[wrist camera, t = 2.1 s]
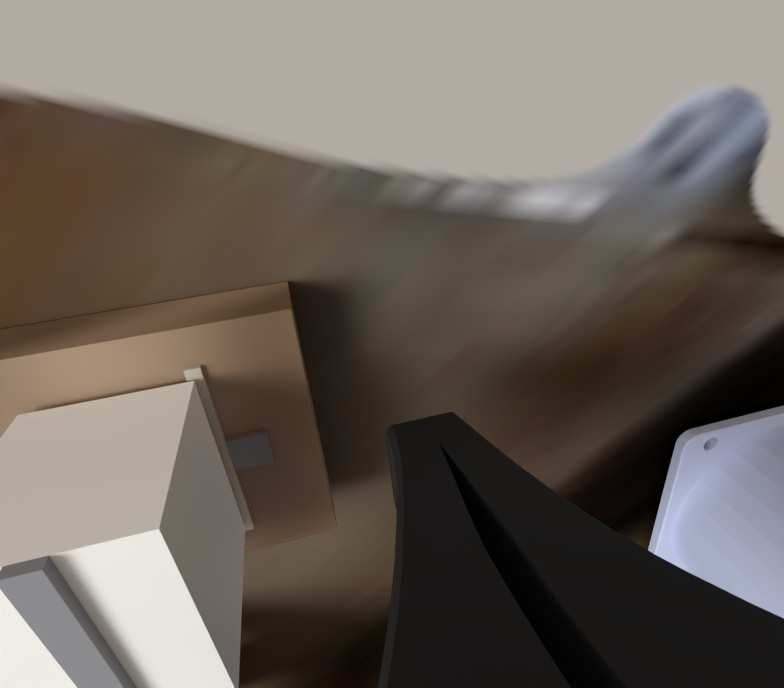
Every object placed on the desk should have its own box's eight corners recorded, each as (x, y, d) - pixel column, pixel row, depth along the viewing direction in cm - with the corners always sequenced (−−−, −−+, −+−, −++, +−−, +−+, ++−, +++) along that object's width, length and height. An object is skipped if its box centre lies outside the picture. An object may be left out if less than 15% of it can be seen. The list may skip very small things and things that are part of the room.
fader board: (287, 281, 10) (291, 311, 9) (330, 485, 13) (338, 532, 12) (-485, 410, 8) (-639, 476, 7) (-229, 619, 11) (-301, 696, 10)
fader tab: (194, 380, 9) (156, 542, 6) (245, 527, 11) (237, 709, 8) (17, 415, 8) (-132, 611, 5) (103, 562, 10) (33, 771, 7)
